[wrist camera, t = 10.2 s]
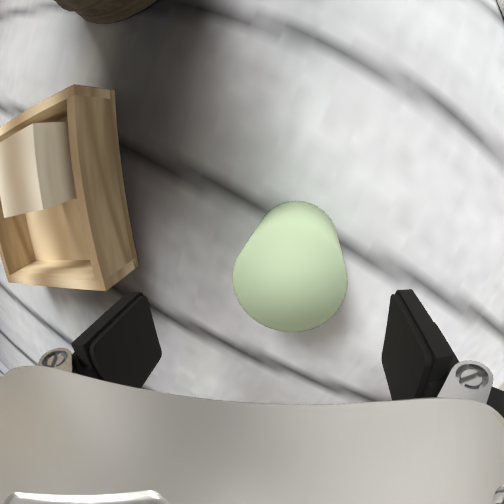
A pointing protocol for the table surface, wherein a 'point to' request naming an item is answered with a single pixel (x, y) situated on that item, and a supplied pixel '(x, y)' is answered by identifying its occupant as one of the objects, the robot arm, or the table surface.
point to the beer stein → (105, 9)
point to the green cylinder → (291, 269)
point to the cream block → (36, 169)
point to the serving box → (75, 202)
